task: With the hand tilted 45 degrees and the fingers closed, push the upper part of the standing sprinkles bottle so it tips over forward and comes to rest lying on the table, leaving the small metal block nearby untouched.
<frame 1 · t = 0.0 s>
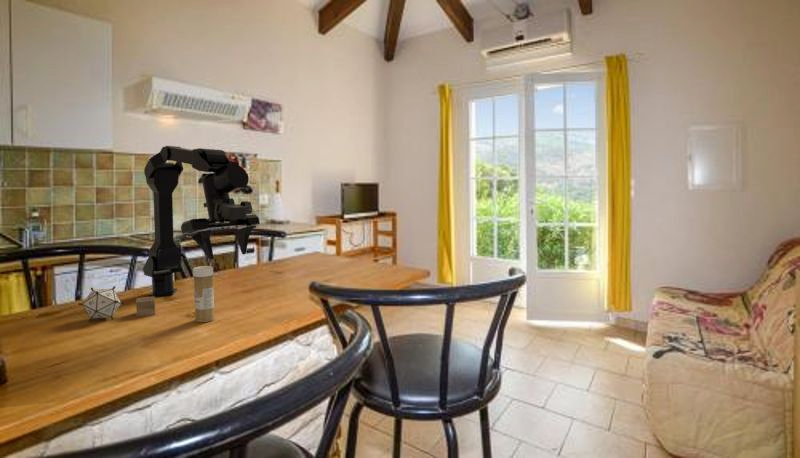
hand: (228, 256, 105), 15 cm above the table, tool pointing down, fingers open, 9 cm apart
sprinkles bottle: (205, 320, 103), on the table
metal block: (146, 314, 108), on the table
game die: (103, 319, 103), on the table
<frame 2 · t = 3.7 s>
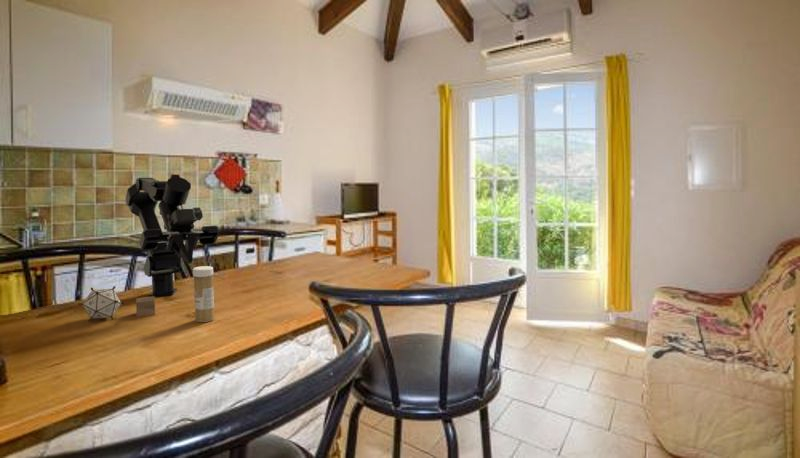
hand: (190, 262, 108), 13 cm above the table, tool tilted 45°, fingers closed
nothing on the table moved.
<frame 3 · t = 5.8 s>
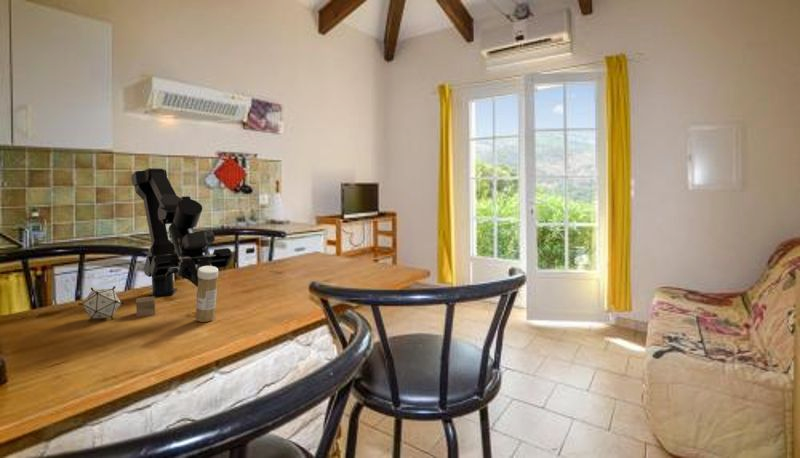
hand: (202, 288, 103), 8 cm above the table, tool tilted 45°, fingers closed
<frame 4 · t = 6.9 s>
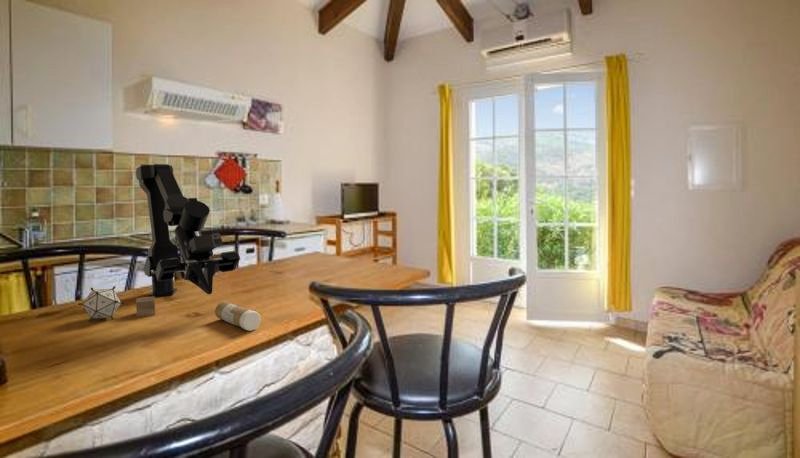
hand: (210, 293, 100), 8 cm above the table, tool tilted 45°, fingers closed
sprinkles bottle: (222, 309, 104), point 2 cm above the table
everything else where it was.
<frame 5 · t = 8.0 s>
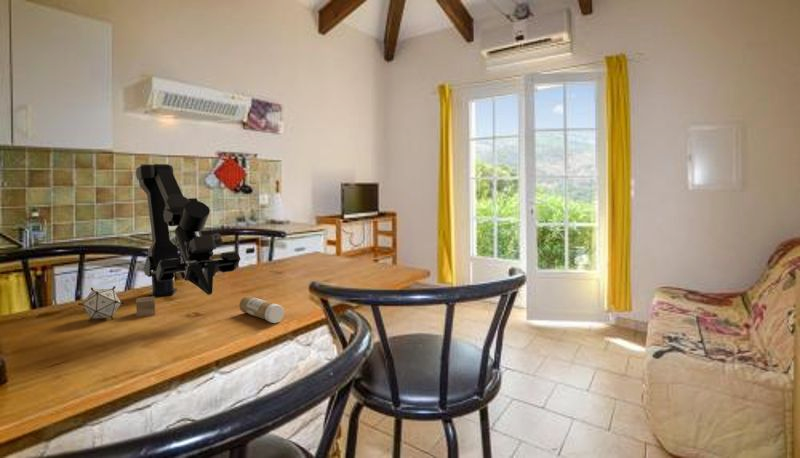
hand: (210, 293, 100), 8 cm above the table, tool tilted 45°, fingers closed
sprinkles bottle: (246, 303, 110), point 2 cm above the table
everything else where it was.
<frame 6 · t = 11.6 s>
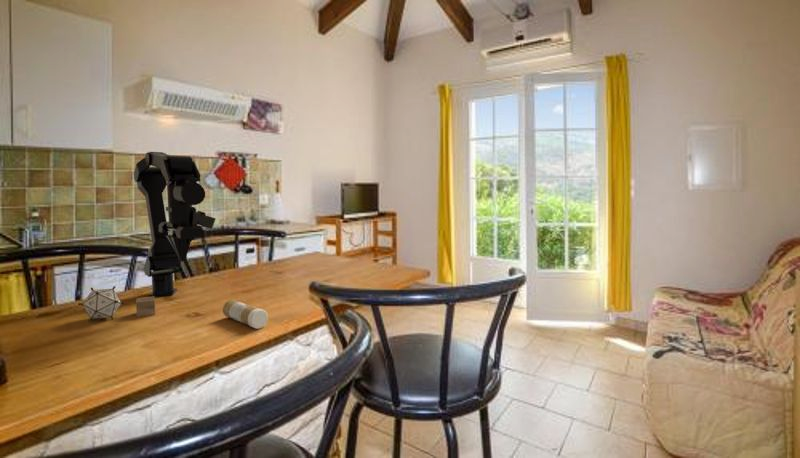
hand: (183, 260, 112), 13 cm above the table, tool pointing down, fingers closed
sprinkles bottle: (229, 307, 106), point 2 cm above the table
everything else where it was.
at the end: sprinkles bottle tilted 90°; sprinkles bottle moved 6.1 cm from its start; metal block moved 0.1 cm from its start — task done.
